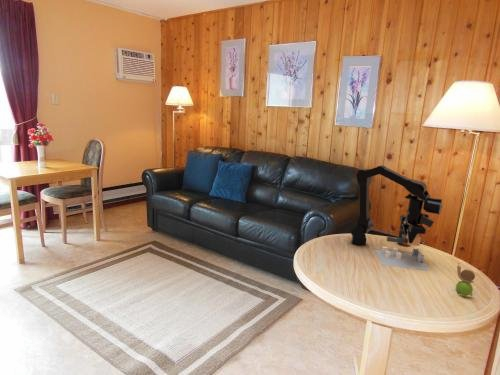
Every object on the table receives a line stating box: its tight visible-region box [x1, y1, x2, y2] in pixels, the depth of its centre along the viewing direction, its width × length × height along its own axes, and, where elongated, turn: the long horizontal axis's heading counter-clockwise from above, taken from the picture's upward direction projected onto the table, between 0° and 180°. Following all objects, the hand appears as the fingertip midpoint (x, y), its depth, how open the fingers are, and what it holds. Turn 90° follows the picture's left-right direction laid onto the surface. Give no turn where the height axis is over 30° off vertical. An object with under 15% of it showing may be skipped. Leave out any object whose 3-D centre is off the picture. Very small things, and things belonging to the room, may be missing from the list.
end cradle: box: [411, 247, 425, 263], centre depth 158 cm, size 2×8×4 cm, turn 171°
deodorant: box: [396, 221, 411, 248], centre depth 175 cm, size 6×6×15 cm
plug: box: [386, 234, 422, 247], centre depth 157 cm, size 14×4×4 cm, turn 81°
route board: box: [374, 249, 431, 272], centre depth 157 cm, size 20×18×1 cm
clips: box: [381, 246, 403, 260], centre depth 160 cm, size 7×6×3 cm
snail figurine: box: [455, 262, 476, 296], centre depth 129 cm, size 5×6×12 cm
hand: (409, 241), depth 157 cm, fingers closed on plug, 4 cm apart
